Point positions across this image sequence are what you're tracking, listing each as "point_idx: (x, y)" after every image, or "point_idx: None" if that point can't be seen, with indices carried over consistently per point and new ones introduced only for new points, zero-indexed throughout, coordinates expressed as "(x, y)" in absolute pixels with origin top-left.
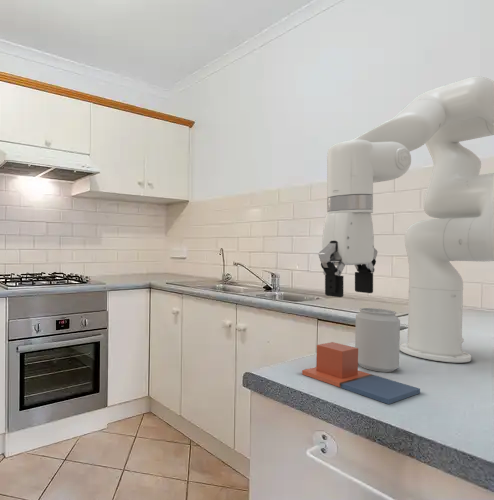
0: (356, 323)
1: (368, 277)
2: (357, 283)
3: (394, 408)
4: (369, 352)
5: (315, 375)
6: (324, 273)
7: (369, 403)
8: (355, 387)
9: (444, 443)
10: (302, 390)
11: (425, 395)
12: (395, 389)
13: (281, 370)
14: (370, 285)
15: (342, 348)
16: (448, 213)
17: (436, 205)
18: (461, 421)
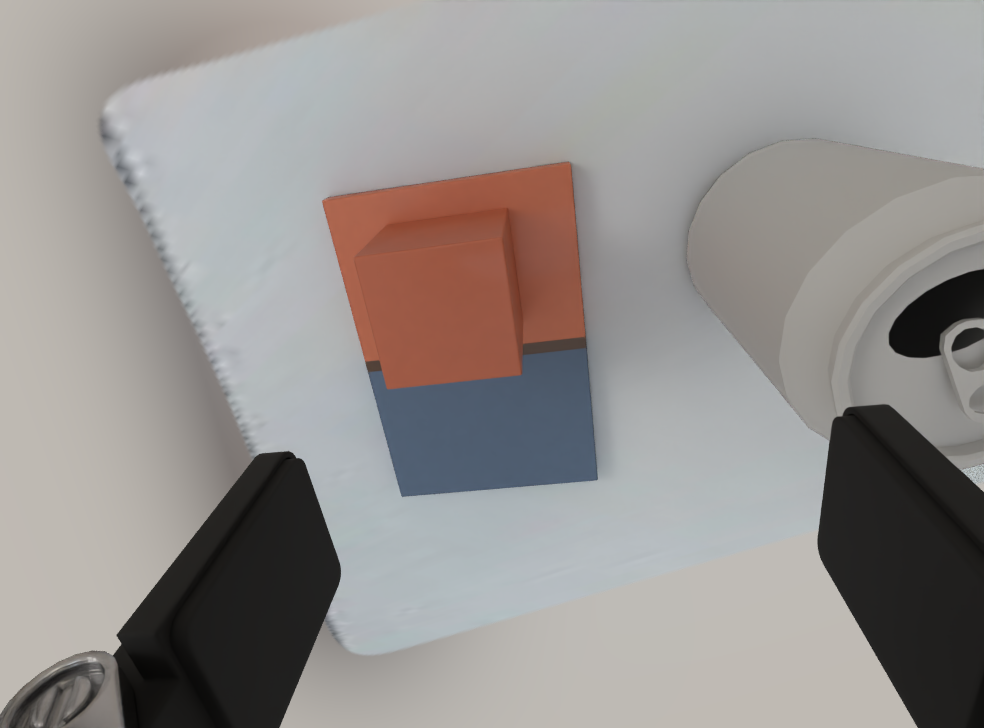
0: (808, 227)
1: (921, 699)
2: (880, 504)
3: (396, 505)
4: (708, 286)
5: (341, 265)
6: (44, 690)
7: (355, 465)
8: (384, 409)
9: (335, 619)
10: (211, 332)
11: (593, 483)
12: (505, 460)
13: (265, 116)
14: (858, 619)
15: (433, 354)
16: None
17: None
18: (488, 589)
